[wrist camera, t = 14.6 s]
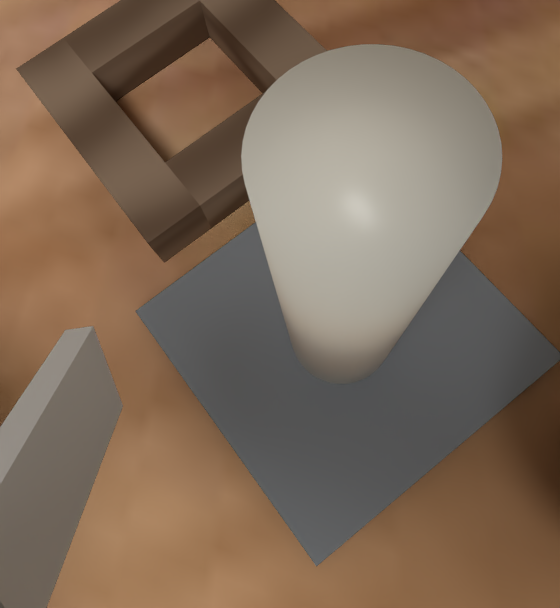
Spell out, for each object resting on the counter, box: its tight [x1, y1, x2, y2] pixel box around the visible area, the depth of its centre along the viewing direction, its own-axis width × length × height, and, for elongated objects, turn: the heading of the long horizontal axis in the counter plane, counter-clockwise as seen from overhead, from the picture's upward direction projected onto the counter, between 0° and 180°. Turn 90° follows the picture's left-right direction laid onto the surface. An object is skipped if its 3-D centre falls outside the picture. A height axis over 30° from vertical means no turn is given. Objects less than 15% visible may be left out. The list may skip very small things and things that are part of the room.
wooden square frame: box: [17, 0, 327, 262], centre depth 27 cm, size 13×13×2 cm
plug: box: [241, 44, 502, 384], centre depth 16 cm, size 5×5×15 cm
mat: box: [136, 222, 560, 566], centre depth 24 cm, size 14×14×1 cm
